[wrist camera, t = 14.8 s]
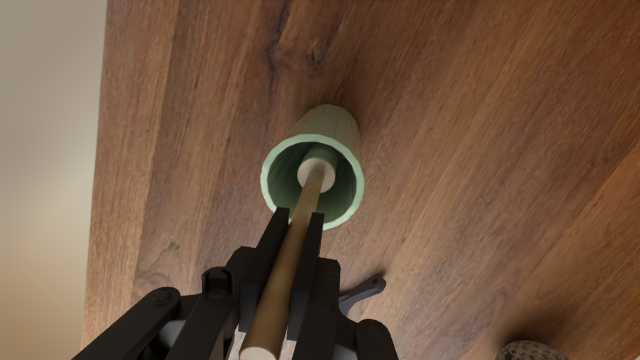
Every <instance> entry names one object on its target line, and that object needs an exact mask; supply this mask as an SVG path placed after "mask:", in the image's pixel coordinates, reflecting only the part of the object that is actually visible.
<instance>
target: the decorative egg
mask: <svg viewBox="0 0 640 360" xmlns="http://www.w3.org/2000/svg"><path fill="white" fill-rule="evenodd" d="M495 360H568V359H567V358H566V357H565V356H564V355H562V354H561V353H560V352H558V351H556V350H555V349H553V348H551V347H549V346H547V345H545V344H542V343H540V342H535V341H529V340H520V341H515V342H512V343H510V344H508V345H506V346H505V347H503V348H502V350H501V351H500V352H499V353H498V355H497V356H496V359H495Z"/></svg>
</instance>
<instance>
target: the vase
mask: <svg viewBox="0 0 640 360" xmlns="http://www.w3.org/2000/svg"><path fill="white" fill-rule="evenodd" d="M316 142H320V143H323V144H327V145H330V146H332V147H334V148H335V149H336V150H337V153H338V163H337V169H336V176H335V181H334V184H333V185H332V187H331V188H330V189H329V190H327V191H325V192H323V193H320V196H319V200H318V204H317V208H316V212H317V213H324V214H325V217H324V224H323V230H326V229H330V228H333V227H336V226H338V225H340V224H341V223H343V222H344V221H346V220H348V219H349V218H350V217H351V216H352V215H353V213H354V212H355V211H356V210H357V208H358V207H359V205H360V202H361V199H362V197H363V194H364V171H363V162H362V152H361V143H360V133H359V129H358V126H357V123H356V121H355V120H354V118H353V117H352V115H351V114H350V113H349V112H347V111H346V110H345V109H343V108H341V107H339V106H336V105H331V104H324V105H318V106H315V107H313V108H311V109H310V110H308V111H307V112H306V113H305V114H304V115H302V117H301V118H300V119H299V120H298V121H297V122H296V123H295V124H294V125H293V126H292V128H291V129H290V130H289V131H288V132H287V133H286V134H285V135H284V136H283V138H282V139H281V140H280V141H279V142H278V143H277V144H276V145H275V146H274V148H273V149H272V150H271V151H270V153H269V154H268V156H267V158H266V159H265V161H264V163H263V166H262V171H261V176H260V182H261V190H262V194H263V196H264V198H265V201H266V203H267V205H268V206H269V208H270V209H271V210H272V211H273V212H275V210H276V208H277V207H283V208H290V214H289V223H290V220H291V218H292V215H293V212H294V210H295V207H296V205H297V202H298V200H299V197H300V194H301V192H302V189H303V187H302V186H301V185H300V183H299V181H298V177H297V173H298V169H299V167H300V165H301V163H302V161H303V159H304V157H305V155H306V153H307V151H308V149H309V147H310V146H311V145H312V144H314V143H316Z"/></svg>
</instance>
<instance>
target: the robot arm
mask: <svg viewBox="0 0 640 360" xmlns="http://www.w3.org/2000/svg"><path fill="white" fill-rule="evenodd" d="M289 214H290V208H283V207H277V208H276V210H275V212H274V214H273V216H272V218H271V220H270V222H269V224H268V226H267V228H266V230H265V232H264V234H263V235H262V237H261V239H260V241H259V243H258V245H257V247H256V248H252V247H245V246H241V247H240V248H238V249H237V250H236V251H234V253H233V254H232V256H231V258H230V259H229V261H228V262H227V265H226V266H225V267H214V268H210V269H209V270H207V271H205V272H204V273H203V274H202V293H200V294H195V295H186V296H180V292H179V291H178V290H177V289H175V288H174V287H161V288H158V289H155V290H153V291H151V292H150V293H148V294H147V295H146V296H145V297H143V298H142V299H141V300H140V301H139V302H138V303H137V304H135V305H134V306H133V307H132V308H131V309H130V310H128V311H127V312H126V313H125V314H124V315H123V316H121V317H120V318H119V319H118V320H117V321H116V322H114V323H113V324H112V325H111V326H110V327H109V328H107V329H106V330H105V331H104V332H103V333H102V334H100V335H99V336H98V337H97V338H96V339H95V340H93V341H92V342H91V343H90V344H89V345H88V346H87V347H85V348H84V349H83V350H82V351H81V352H80V353H78V354H77V355H76V356H75V357H74V358H73V359H71V360H228V358H229V355H230V352H231V349H232V346H233V343H234V337H235V330H236V327H237V325H238V323H239V326H238V331H239V332H245V333H247V330H248V328H249V325H250V322H251V320H252V317H253V315H254V312H255V310H256V307H257V305H258V302H259V300H260V297H261V295H262V292H263V289H264V287H265V284H266V282H267V279H268V277H269V274H270V272H271V269H272V266H273V264H274V261H275V259H276V256H277V254H278V251H279V248H280V246H281V243H282V241H283V238H284V236H285V233H286V231H287V228H288V225H289ZM324 217H325V214H324V213H317V212H312V215H311V218H310V222H309V226H308V229H307V233H306V237H305V240H304V244H303V248H302V251H301V255H300V259H299V263H298V266H297V270H296V274H295V277H294V281H293V285H292V288H291V298H290V308H289V312H290V318H289V322H288V329H287V339H286V340H292V341H297V343H296V346H295V350H294V353H293V357H292V360H399V359H398V356H397V353H396V350H395V347H394V344H393V341H392V338H391V335H390V332H389V331H388V329H387V327H386V326H384V325H383V324H382V323H381V322H379V321H377V320H373V319H364V320H362V321H360V322H358V323H356V322H354V321H352V320H350V319H348V318H347V317H346V316H344V315H343V313H342V312H341V311H340V308H339V287H340V270H341V267H340V265H339V263H338V261H337V260H333V259H327V258H321V257H319V254H320V247H321V239H322V232H323V224H324Z"/></svg>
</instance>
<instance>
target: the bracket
mask: <svg viewBox="0 0 640 360" xmlns="http://www.w3.org/2000/svg"><path fill="white" fill-rule="evenodd" d="M385 286H386V281H385V280H384V279H383V278H382V277H381V276H380V275H375V276H373V277H371V278H370V279H368V280H367V281H365V282H363V283H362V284H360V285H359V286H357V287H356V288H354V289H353V290H351V291H349V292H348V293H346V294H345V295H343V296H339V308H340V311H341V312H342V313H343V315H344V316H346V314H347V312H348V311H349V309H350V308H351V307H352V306H353V305H354V303H356V302H358V301H360V300H362V299H365V298H368V297H370V296H373V295H376V294H379V293H381V292H382V291H383V290H384V288H385Z"/></svg>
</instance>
